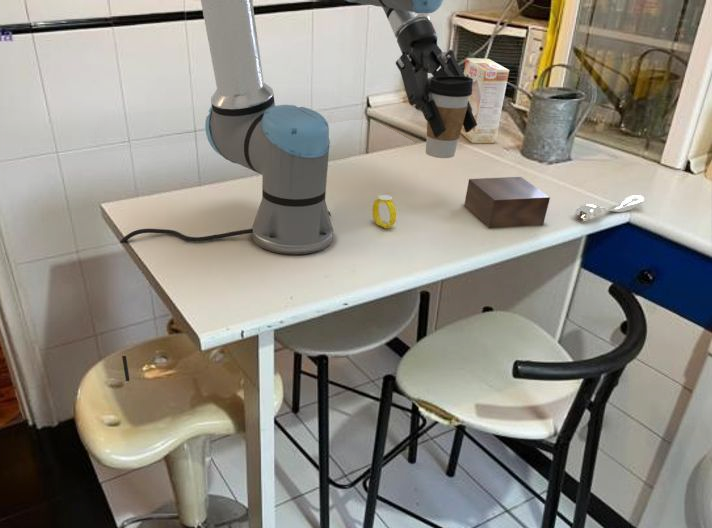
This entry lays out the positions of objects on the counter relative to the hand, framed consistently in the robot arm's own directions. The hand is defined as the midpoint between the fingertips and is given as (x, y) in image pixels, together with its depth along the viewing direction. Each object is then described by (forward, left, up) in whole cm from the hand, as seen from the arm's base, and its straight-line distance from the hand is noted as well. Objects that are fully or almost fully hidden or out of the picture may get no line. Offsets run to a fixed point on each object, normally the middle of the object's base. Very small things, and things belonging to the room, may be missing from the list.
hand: (456, 130), depth 129 cm
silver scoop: (+36, -5, -17) cm, 40 cm away
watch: (-15, -5, -17) cm, 24 cm away
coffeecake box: (+31, +52, -17) cm, 63 cm away
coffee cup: (-1, +3, -6) cm, 7 cm away
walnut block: (+12, -3, -17) cm, 21 cm away
